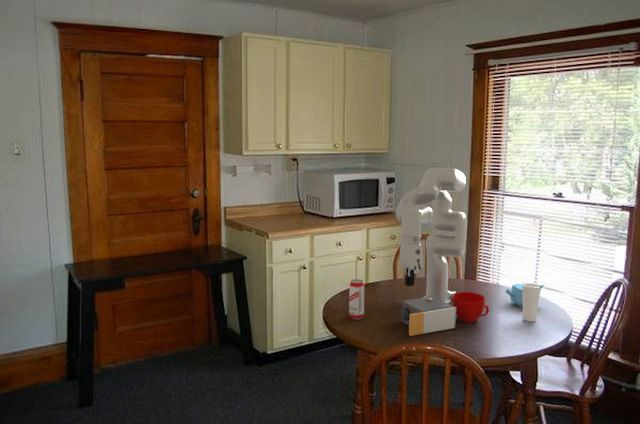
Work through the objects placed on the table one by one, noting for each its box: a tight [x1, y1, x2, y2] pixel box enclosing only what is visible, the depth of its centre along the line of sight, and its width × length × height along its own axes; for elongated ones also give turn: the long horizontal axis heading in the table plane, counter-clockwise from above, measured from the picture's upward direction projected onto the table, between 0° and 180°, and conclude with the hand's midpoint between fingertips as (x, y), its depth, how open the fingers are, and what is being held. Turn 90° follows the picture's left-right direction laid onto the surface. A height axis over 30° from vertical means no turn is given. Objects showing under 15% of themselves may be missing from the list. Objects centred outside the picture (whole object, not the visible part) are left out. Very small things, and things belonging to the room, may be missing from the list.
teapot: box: [505, 282, 545, 309], centre depth 246 cm, size 18×14×10 cm
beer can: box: [348, 278, 365, 321], centre depth 228 cm, size 6×6×16 cm
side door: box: [408, 307, 457, 337], centre depth 213 cm, size 22×1×8 cm, turn 114°
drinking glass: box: [522, 282, 541, 323], centre depth 226 cm, size 7×7×15 cm
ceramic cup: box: [452, 291, 490, 323], centre depth 225 cm, size 13×17×10 cm
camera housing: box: [400, 296, 453, 327], centre depth 221 cm, size 16×14×10 cm
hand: (409, 285), depth 212 cm, fingers closed
